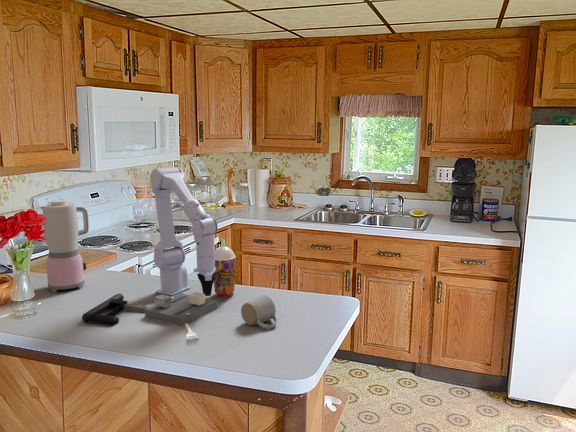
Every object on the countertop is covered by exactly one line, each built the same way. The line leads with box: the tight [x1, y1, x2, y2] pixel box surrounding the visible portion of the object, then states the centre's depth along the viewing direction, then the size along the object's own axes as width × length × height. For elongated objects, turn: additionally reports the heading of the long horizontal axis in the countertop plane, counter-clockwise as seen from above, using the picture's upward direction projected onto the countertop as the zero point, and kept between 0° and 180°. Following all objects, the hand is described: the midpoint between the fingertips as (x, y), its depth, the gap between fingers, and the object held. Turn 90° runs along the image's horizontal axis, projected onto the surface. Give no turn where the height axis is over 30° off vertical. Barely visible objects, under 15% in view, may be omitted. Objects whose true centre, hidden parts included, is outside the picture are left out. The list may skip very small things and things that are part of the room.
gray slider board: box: [144, 292, 218, 327], centre depth 164 cm, size 17×15×3 cm
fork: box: [184, 323, 199, 341], centre depth 151 cm, size 3×20×2 cm, turn 20°
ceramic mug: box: [240, 294, 278, 330], centre depth 154 cm, size 11×8×8 cm
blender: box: [39, 199, 90, 293], centre depth 187 cm, size 16×12×32 cm
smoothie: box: [213, 238, 237, 298], centre depth 178 cm, size 8×8×20 cm
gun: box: [81, 293, 149, 326], centre depth 164 cm, size 3×20×16 cm
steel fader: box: [154, 294, 172, 308], centre depth 162 cm, size 3×4×3 cm
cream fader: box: [188, 291, 206, 305], centre depth 164 cm, size 3×4×3 cm
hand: (207, 295), depth 168 cm, fingers closed
